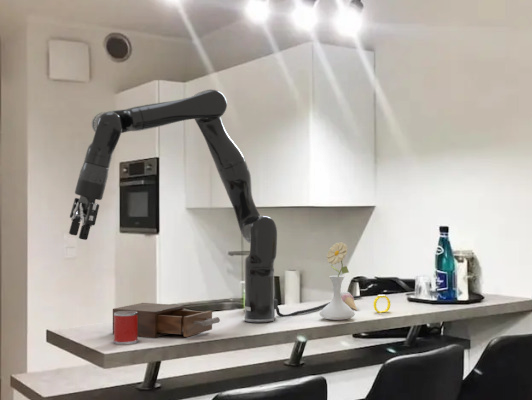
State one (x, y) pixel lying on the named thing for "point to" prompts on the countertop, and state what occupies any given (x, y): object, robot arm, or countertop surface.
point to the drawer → (185, 322)
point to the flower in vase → (337, 286)
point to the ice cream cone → (348, 299)
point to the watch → (376, 302)
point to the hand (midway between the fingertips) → (77, 237)
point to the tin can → (125, 327)
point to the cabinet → (148, 317)
